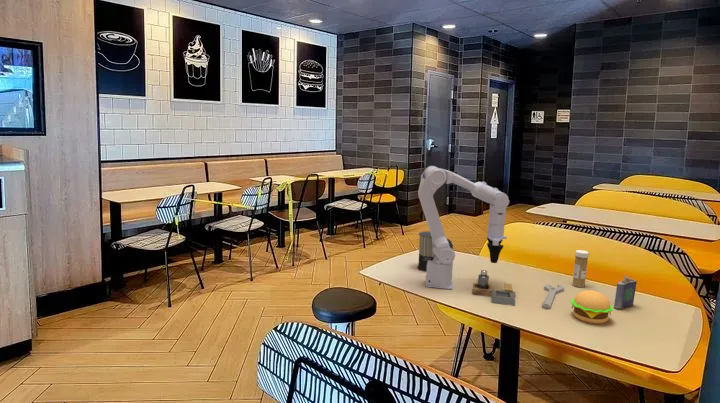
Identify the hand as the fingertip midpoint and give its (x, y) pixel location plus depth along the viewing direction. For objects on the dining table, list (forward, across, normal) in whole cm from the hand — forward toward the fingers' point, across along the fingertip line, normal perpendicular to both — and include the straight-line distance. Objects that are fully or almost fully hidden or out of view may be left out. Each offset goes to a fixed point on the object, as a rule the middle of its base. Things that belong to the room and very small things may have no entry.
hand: (493, 259), depth 179 cm
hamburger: (+10, -21, -30) cm, 38 cm away
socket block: (+10, -12, -4) cm, 16 cm away
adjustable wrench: (+11, -5, -20) cm, 23 cm away
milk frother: (+10, +16, +23) cm, 30 cm away
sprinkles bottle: (+10, +11, -32) cm, 35 cm away
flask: (+10, -7, -43) cm, 45 cm away
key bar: (+10, -7, -6) cm, 13 cm away
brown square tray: (+10, -9, +4) cm, 14 cm away
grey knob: (+9, -9, +3) cm, 13 cm away
